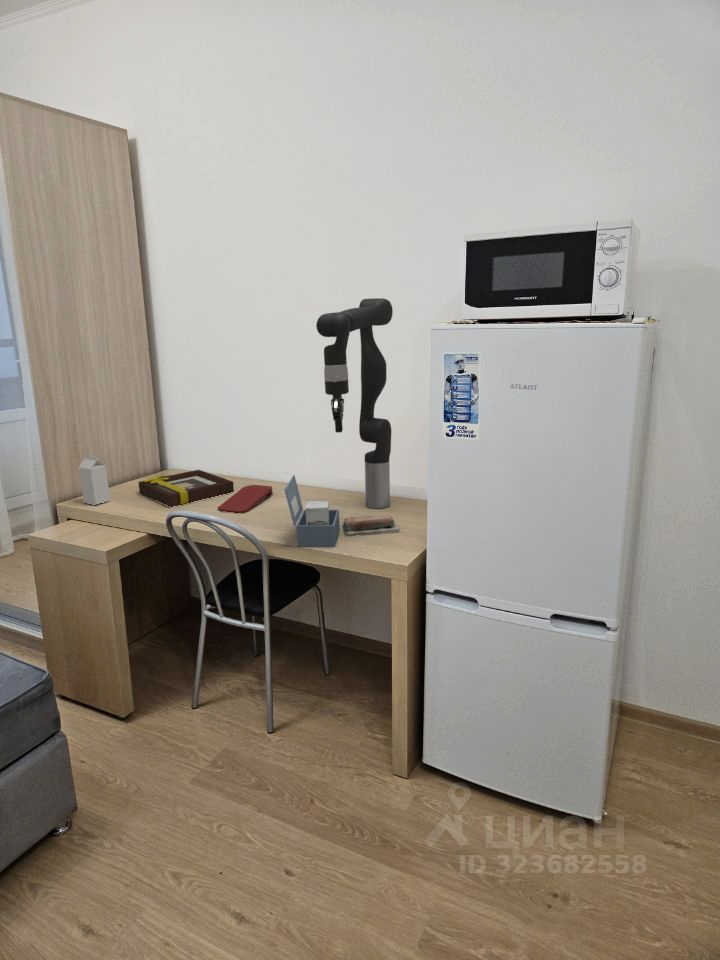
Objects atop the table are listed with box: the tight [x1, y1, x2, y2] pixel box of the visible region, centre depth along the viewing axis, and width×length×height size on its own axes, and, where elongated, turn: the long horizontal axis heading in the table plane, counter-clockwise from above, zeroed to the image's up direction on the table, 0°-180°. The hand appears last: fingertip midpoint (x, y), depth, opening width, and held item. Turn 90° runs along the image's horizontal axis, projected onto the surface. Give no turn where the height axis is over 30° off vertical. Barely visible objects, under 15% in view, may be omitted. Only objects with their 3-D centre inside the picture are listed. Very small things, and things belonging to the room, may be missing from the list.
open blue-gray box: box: [295, 509, 341, 548], centre depth 209 cm, size 16×12×7 cm
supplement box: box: [305, 500, 330, 525], centre depth 205 cm, size 7×7×13 cm
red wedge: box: [217, 484, 274, 514], centre depth 249 cm, size 12×5×25 cm
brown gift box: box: [138, 469, 235, 508], centre depth 264 cm, size 28×7×30 cm
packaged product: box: [342, 514, 400, 537], centre depth 215 cm, size 18×5×10 cm
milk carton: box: [78, 455, 111, 506], centre depth 251 cm, size 7×7×19 cm
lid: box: [283, 475, 304, 527], centre depth 207 cm, size 16×12×1 cm
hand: (339, 431), depth 208 cm, fingers closed
